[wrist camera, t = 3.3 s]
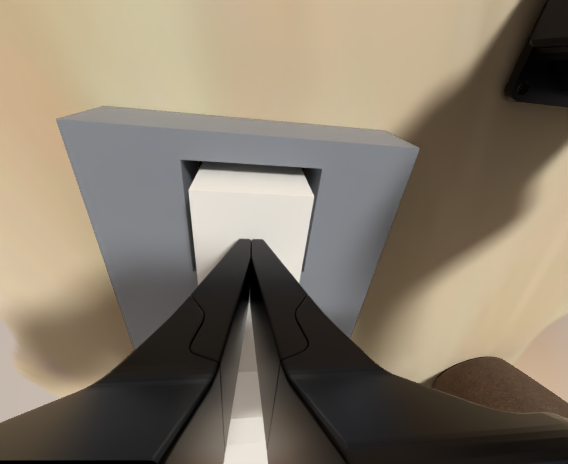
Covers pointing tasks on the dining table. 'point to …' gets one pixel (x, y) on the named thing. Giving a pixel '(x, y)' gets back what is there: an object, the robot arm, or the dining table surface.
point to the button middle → (247, 378)
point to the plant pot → (499, 387)
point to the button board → (230, 149)
